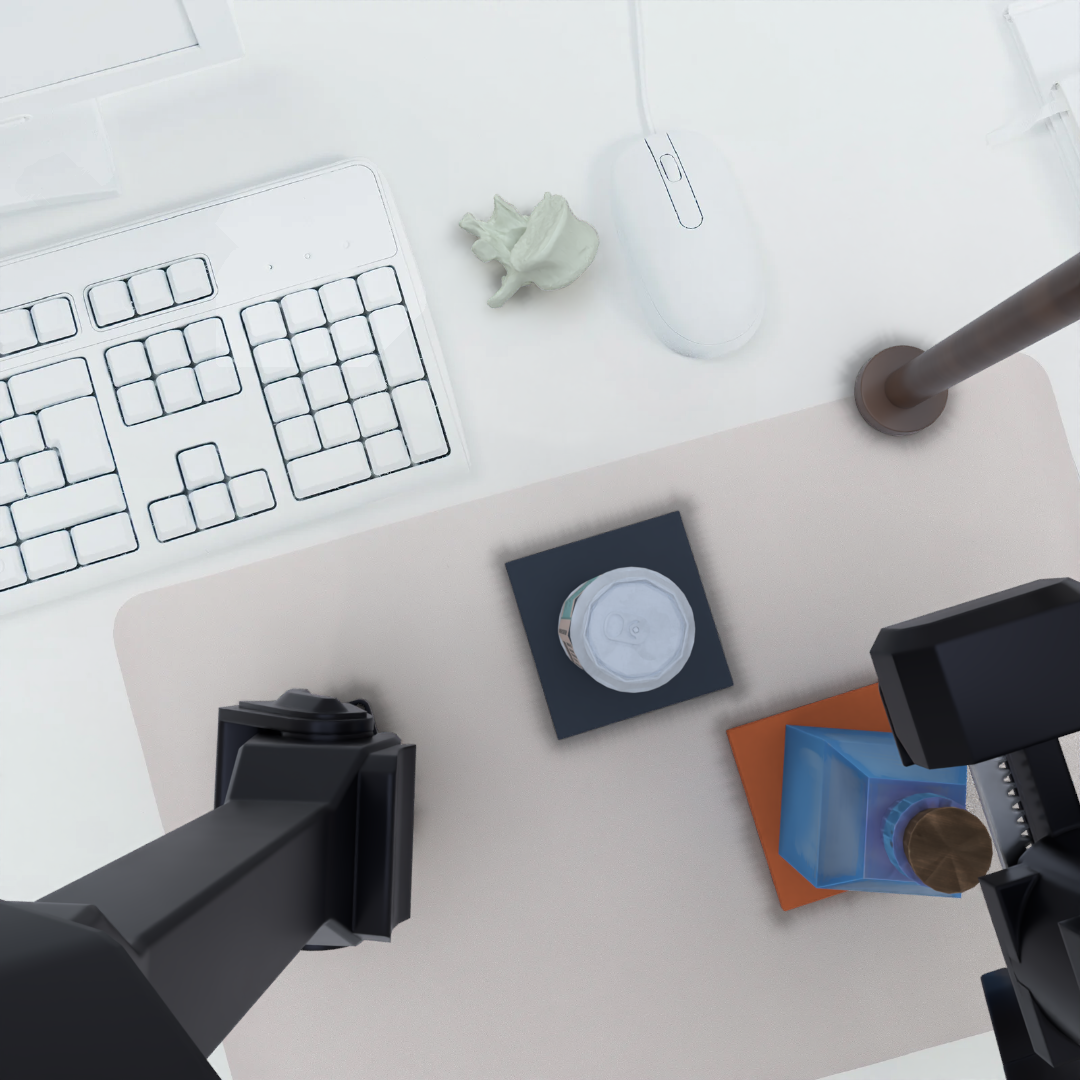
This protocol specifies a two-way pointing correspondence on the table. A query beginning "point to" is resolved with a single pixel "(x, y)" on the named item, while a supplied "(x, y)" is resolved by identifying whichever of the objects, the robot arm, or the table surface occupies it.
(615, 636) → the beer can
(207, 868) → the robot arm
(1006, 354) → the marker post
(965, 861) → the perfume bottle
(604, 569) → the slate mat
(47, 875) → the table surface
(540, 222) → the vertebra
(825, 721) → the terracotta mat
